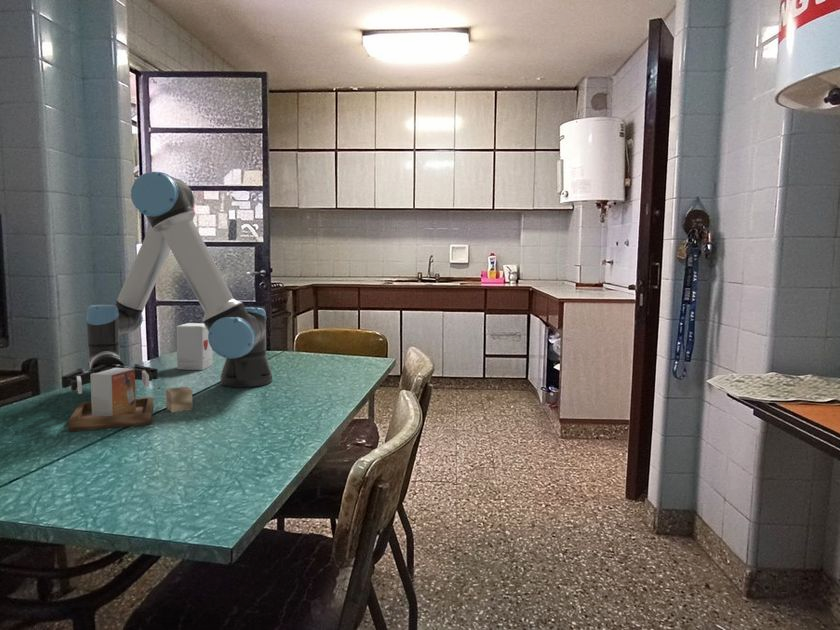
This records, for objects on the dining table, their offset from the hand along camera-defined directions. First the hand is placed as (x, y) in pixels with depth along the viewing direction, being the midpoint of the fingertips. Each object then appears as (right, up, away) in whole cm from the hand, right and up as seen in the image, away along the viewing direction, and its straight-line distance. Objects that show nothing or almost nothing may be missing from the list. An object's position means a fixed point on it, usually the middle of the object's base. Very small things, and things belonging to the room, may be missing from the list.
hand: (114, 384), depth 126 cm
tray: (-2, -8, +4) cm, 9 cm away
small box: (-2, -8, +4) cm, 9 cm away
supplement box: (-7, -2, +63) cm, 64 cm away
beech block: (+9, -8, +13) cm, 18 cm away
